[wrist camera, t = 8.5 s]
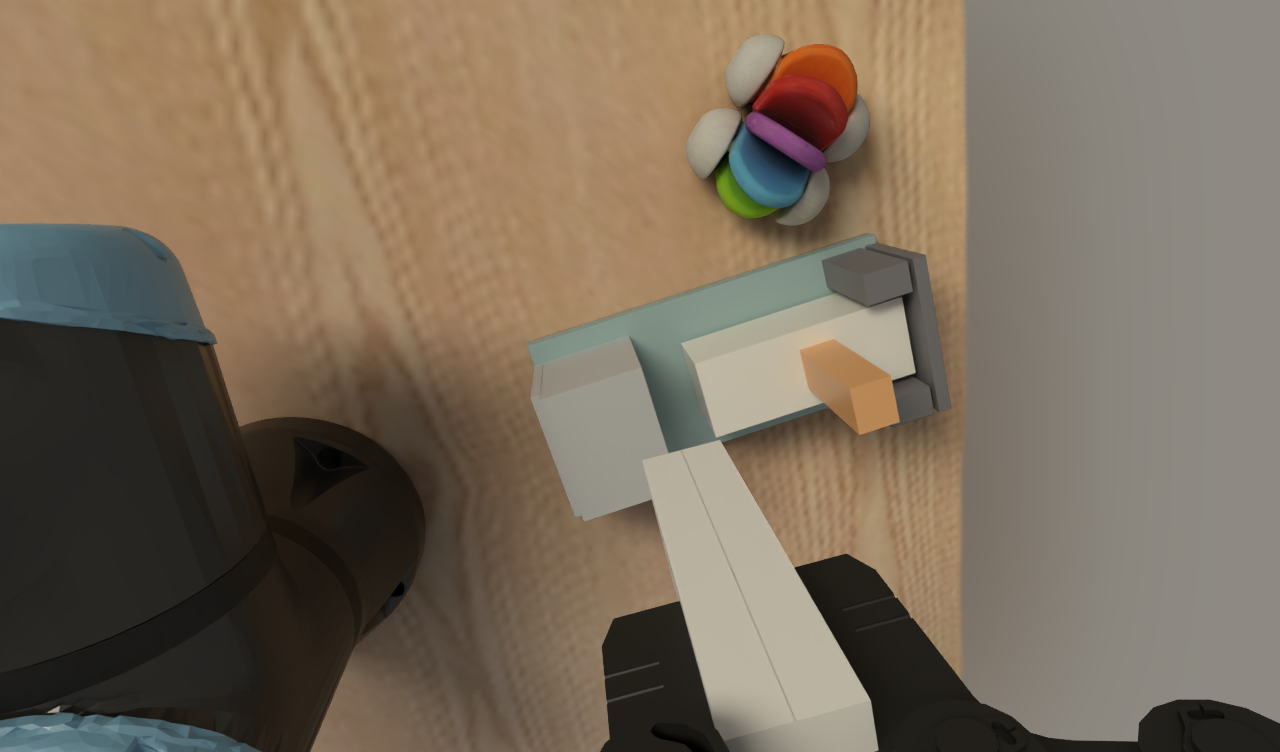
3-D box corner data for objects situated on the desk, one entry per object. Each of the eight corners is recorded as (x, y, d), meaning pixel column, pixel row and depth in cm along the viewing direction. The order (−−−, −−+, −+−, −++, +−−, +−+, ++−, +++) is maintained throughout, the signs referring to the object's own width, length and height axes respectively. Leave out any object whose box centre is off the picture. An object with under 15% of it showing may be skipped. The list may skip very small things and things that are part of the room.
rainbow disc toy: (870, 99, 41) (934, 86, 34) (781, 245, 43) (824, 260, 36) (751, 16, 39) (793, -16, 32) (664, 173, 41) (685, 175, 34)
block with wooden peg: (700, 410, 44) (747, 493, 33) (680, 343, 42) (723, 406, 31) (880, 351, 44) (987, 415, 33) (866, 283, 42) (974, 325, 31)
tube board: (579, 482, 46) (583, 544, 38) (527, 342, 42) (521, 380, 35) (895, 379, 46) (959, 420, 38) (867, 233, 43) (931, 247, 35)
